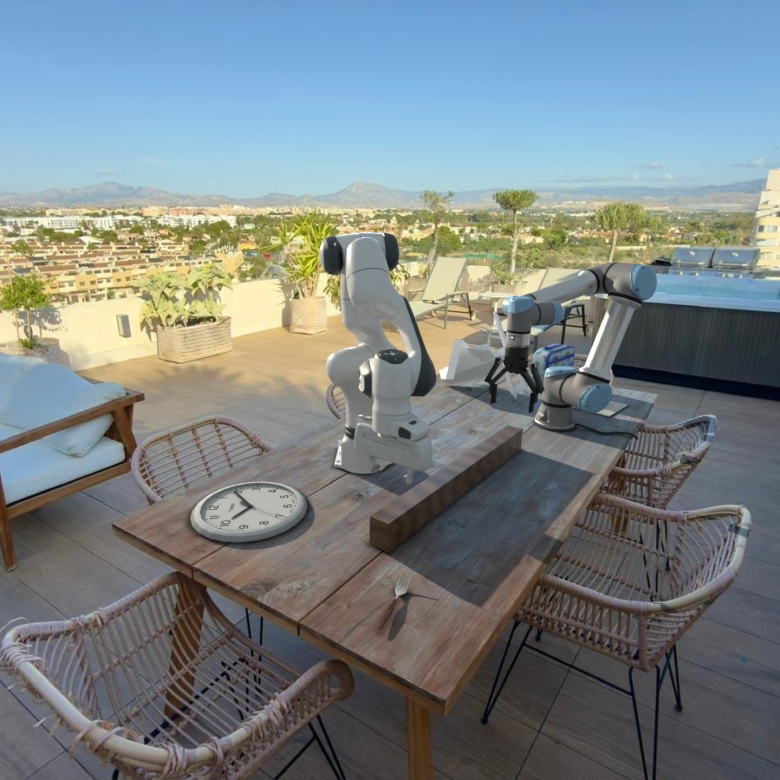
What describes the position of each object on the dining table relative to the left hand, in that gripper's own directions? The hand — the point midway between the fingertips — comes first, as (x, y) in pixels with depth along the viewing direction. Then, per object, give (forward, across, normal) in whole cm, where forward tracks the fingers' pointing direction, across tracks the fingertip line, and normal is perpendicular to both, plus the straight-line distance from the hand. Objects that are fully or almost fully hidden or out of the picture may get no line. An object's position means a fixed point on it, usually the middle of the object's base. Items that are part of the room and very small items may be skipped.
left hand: (391, 477), depth 122 cm
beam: (+17, 0, +34) cm, 38 cm away
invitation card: (+17, +11, +137) cm, 139 cm away
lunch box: (+16, -16, +151) cm, 152 cm away
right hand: (+1, 0, +68) cm, 68 cm away
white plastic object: (+16, -39, +122) cm, 129 cm away
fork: (+17, +14, -18) cm, 29 cm away
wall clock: (+17, -38, -12) cm, 43 cm away
